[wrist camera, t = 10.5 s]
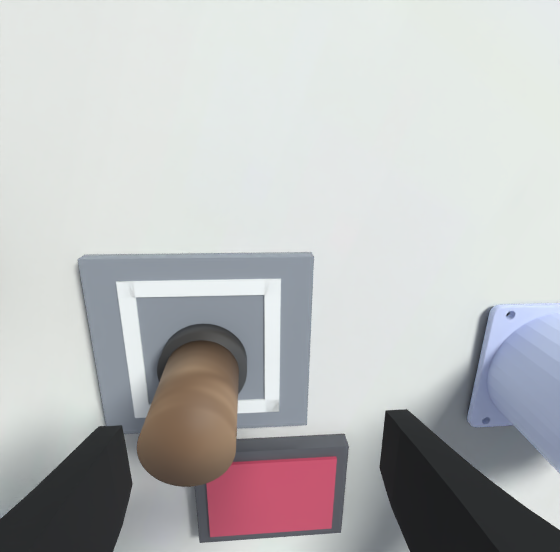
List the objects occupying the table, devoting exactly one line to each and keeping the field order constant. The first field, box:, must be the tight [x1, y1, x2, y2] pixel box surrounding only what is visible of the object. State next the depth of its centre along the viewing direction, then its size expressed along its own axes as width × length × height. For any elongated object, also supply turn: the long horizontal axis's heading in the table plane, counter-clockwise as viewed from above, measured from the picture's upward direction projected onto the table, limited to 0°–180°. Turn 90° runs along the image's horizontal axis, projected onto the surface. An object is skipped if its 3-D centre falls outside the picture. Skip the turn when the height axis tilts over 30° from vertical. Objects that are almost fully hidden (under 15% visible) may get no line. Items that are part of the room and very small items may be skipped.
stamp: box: [137, 324, 247, 487], centre depth 17 cm, size 4×4×6 cm
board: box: [78, 252, 314, 434], centre depth 20 cm, size 11×10×1 cm
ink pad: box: [195, 434, 349, 543], centre depth 23 cm, size 9×7×1 cm
